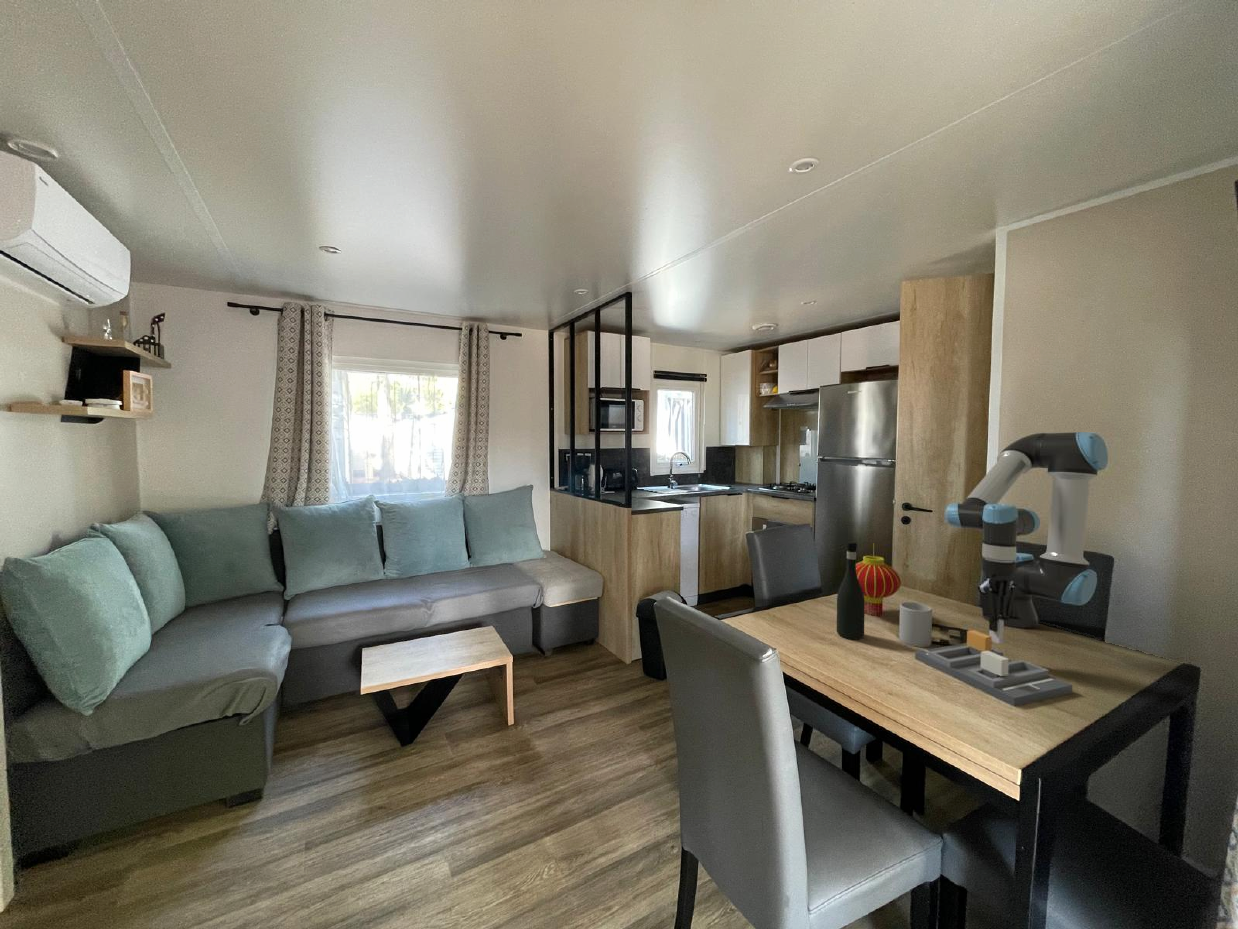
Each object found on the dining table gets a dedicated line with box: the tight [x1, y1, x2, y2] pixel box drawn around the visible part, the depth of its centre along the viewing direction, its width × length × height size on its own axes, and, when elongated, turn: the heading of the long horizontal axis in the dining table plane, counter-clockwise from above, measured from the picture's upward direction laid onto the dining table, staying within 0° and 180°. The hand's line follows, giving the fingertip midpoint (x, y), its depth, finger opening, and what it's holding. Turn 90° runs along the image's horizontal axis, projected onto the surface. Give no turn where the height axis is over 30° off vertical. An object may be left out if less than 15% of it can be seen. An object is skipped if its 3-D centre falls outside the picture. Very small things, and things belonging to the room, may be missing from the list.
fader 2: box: [981, 651, 1010, 679], centre depth 120 cm, size 3×5×6 cm, turn 17°
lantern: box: [856, 544, 902, 617], centre depth 172 cm, size 17×17×30 cm
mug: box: [898, 601, 933, 648], centre depth 149 cm, size 12×8×11 cm
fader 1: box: [966, 629, 993, 655], centre depth 133 cm, size 3×5×6 cm, turn 17°
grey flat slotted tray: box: [914, 642, 1073, 707], centre depth 126 cm, size 20×26×4 cm
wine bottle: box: [836, 541, 865, 640], centre depth 152 cm, size 8×8×30 cm
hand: (996, 641), depth 135 cm, fingers closed
